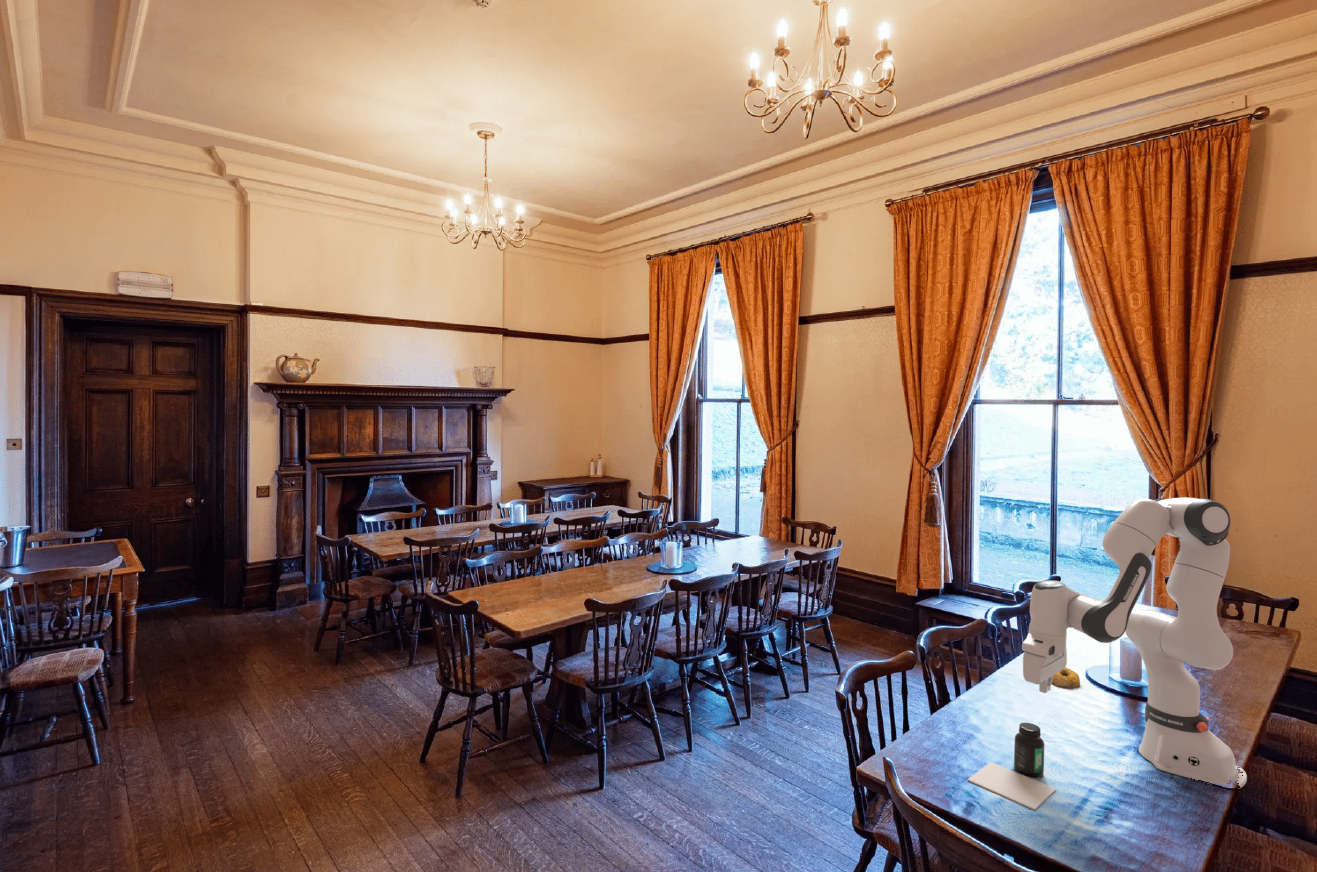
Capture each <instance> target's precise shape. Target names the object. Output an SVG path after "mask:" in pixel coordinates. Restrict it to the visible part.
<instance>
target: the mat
mask: <svg viewBox="0 0 1317 872" xmlns="http://www.w3.org/2000/svg"><path fill="white" fill-rule="evenodd" d="M967 781H968V782H969V783H973V785H974V784H975V785H976V786H978V787H981V788H983V789H986V790H988V791H990V792H992V793H994V794H997V795H999V796H1002V797H1003V798H1005V799H1009V800H1011V801H1013V802H1014V803H1017V804H1020V805H1021V806H1025V808H1028V809H1031V810H1034V811H1036V810H1037V809H1038V808H1039V807H1040V806H1041V805H1043V803H1044V802H1046V801H1047V800H1048V799H1049V798H1050V797H1051V796H1052V795H1053V794H1054V793H1055V792H1056V791H1057V788H1055V787H1052V786H1050V785H1049V784H1048V785H1047V784H1045V783H1042V782H1041V781H1039V780H1036V779H1033V778H1032V777H1027V776H1024V775H1022V774H1020V773H1018V772H1017V771H1016V772H1015V771H1013V770H1011V769H1008V768H1006V767H1003V766H1002V765H999V764H997V763H995V762H991V761H990V762H988V763H987V764H986V765H985V766H983V767H982V768H980V769H979V770H978V771H976V772H975V773H974V774H973V775H971V776H970V777H969V778H967Z"/></svg>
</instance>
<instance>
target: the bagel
mask: <svg viewBox="0 0 1317 872" xmlns="http://www.w3.org/2000/svg"><path fill="white" fill-rule="evenodd" d="M1051 684H1053V685H1055V686H1056V687H1060V688H1061V687H1063V688H1070V687H1071V688H1076V687H1080V686H1081V679H1080V676H1079V674H1078V673H1077V672H1076V671H1074V670H1072V669H1070V668H1068V667H1067V666H1066V667H1065V669H1063V670H1061V671H1060V672H1058V673H1056V674H1055V675H1053V680H1052V683H1051Z"/></svg>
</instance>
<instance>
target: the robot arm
mask: <svg viewBox="0 0 1317 872" xmlns="http://www.w3.org/2000/svg"><path fill="white" fill-rule="evenodd" d="M1230 527H1231V517H1230V513H1229V511H1228V509H1227V507H1226V506H1225V505H1223V504H1222V503H1220V502H1218V501H1216V500H1212V499H1209V498H1208V499H1207V498H1196V497H1186V496H1183V497H1174V498H1173V497H1172V498H1171V497H1170V498H1168V497H1161V498H1158V499H1151V498H1138V499H1135V500H1134V501H1133V502H1132V503H1130V504H1129V505H1128V506H1126V508H1125V509H1124V510H1123V511H1122V512H1121V513H1120V514H1118V516H1117V518H1115V520H1114V521H1113V522H1112V524H1111V525H1110V527H1108V529H1107V531H1106V532H1105V534H1104V536H1103V538H1102V546H1103V550H1104V552H1105V554H1106V556H1107V557H1109V559H1111V561H1113V563H1114V564H1116V565H1117V567H1118V569H1119V573H1118V576H1117V578H1116V580H1115V582H1114V584H1113V586H1112V588H1111V589H1110V592H1109V594H1108V596H1107V597H1106V598H1104V599H1102V600H1099V599H1097V598H1094V597H1091V596H1089V595H1086V594H1084V593H1080V592H1078V591H1076V590H1073V589H1071V588H1070V587H1069V586H1067V585H1066V584H1065V583H1064V582H1062V581H1059V580H1048V579H1047V580H1041V581H1040V580H1039V581H1038V582H1036V583H1035V584H1034V585H1033V587H1032V590H1031V594H1030V601H1029V614H1030V615H1029V616H1030V623H1029V625H1028V633H1027V636H1026V637H1025V639H1024V641H1023V642H1022V643H1021V650H1022V651H1023V656H1022V676H1023V678H1024V679H1023V680H1025V681H1026V682H1028V683H1032V684H1035V685H1039V686H1038V687H1039V688H1038V689H1039V692H1040V693H1043V694H1046V693H1048V692H1049V691H1051V689H1052V687H1051V686H1052V684H1053V683H1052V680H1053V675H1055V674H1056V673H1058V672H1060V671H1061V670H1063V669H1065V667H1066V668H1067V663H1068V660H1067V659H1068V657H1067V656H1068V655H1067V654H1068V653H1067V633H1068V632H1067V629H1068V628H1072V629H1074V630H1076V631H1078V632H1080V633H1083V634H1085V635H1086V636H1088V637H1090V638H1091V639H1093V640H1096V641H1097V642H1098V643H1102V644H1109V643H1112V642H1116V641H1117V640H1119V639H1120V638H1121V637H1123V635H1124V634H1125V635H1126V636H1127V638H1128V639H1129V640H1130V641H1131V642H1132V643H1133V645H1134V646H1135V647H1136V649H1137V651H1138V653H1139V655H1140V656H1141V659H1142V661H1143V664H1144V666H1145V670H1146V673H1147V701H1145V705H1144V718H1145V719H1144V720H1145V727H1144V732H1143V738H1142V739H1141V742H1140V745H1139V748H1138V752H1139V754H1140V755H1141V757H1143V758H1144V759H1146V760H1148V761H1149V762H1151V763H1152V764H1153V765H1154V766H1155V768H1157V769H1158V770H1160V771H1162V772H1163V771H1164V772H1165V773H1169V774H1172V775H1173V774H1174V775H1176V776H1180V777H1184V778H1188V779H1191V778H1192V779H1191V780H1194V779H1195V781H1198V780H1202V781H1205V782H1209V783H1218V784H1222V785H1227V783H1230V782H1229V781H1230V780H1238V781H1237V783H1239V784H1238V785H1239V786H1240V788H1239V789H1241V788H1243V787H1244V786H1245V785H1246V784H1247V782H1248V781H1247V780H1248V775H1247V773H1246V771H1245V770H1244V769H1243V768H1242V767H1240V768H1238V769H1240V772H1243V773H1239V774H1238V773H1237V772H1238V771H1237V770H1236V769H1237V767H1239V766H1238V765H1237V764H1236V759H1235V755H1234V753H1233V750H1232V749H1231V748H1230V747H1229V746H1228V745H1227V744H1226V743H1225V742H1224V741H1222V740H1221V739H1220V738H1219V737H1217V736H1216V735H1215V734H1214V733H1213V732H1211V731H1210V730H1209V725H1210V724H1209V723H1210V717H1209V716H1206V717H1205V715H1203V714H1202V713H1201V712H1200V702H1201V701H1200V698H1201V697H1200V696H1201V687H1200V683H1199V682H1198V679H1196V678H1195V677H1194V676H1193V675H1192V674H1191V673H1190V672H1189V671H1188V669H1187V668H1186V666H1185V664H1187V665H1190V666H1193V667H1195V668H1202V669H1207V670H1213V671H1217V670H1221V669H1223V668H1226V667H1227V666H1228V665H1229V664H1230V662H1231V661H1232V660H1233V656H1234V647H1233V644H1232V642H1231V640H1230V639H1229V637H1228V635H1226V634H1225V632H1224V631H1223V629H1222V627H1221V625H1220V621H1219V617H1218V610H1217V609H1218V603H1219V599H1220V594H1221V591H1222V588H1223V586H1224V581H1225V579H1226V576H1227V572H1228V569H1229V565H1230V563H1229V562H1230V558H1231V557H1230V556H1231V546H1230V545H1231V544H1230V543H1229V542H1228V540H1227V539H1226V538H1227V537H1228V536H1229V531H1230ZM1165 536H1171V537H1174V538H1178V541H1179V546H1180V547H1179V551H1178V552H1177V555H1176V558H1175V561H1174V563H1173V566H1172V568H1171V572H1170V574H1169V578H1168V579H1167V583H1166V586H1165V587H1166V593H1167V594H1168V596H1169V597H1170V598H1171V600H1172V601H1173V602H1175V603H1176V606H1177V616H1173V615H1171V614H1168V613H1164V612H1161V611H1157V610H1150V609H1141V608H1140V609H1134V607H1135V605H1136V603H1137V601H1138V599H1139V597H1140V596H1141V593H1142V592H1143V589H1144V587H1145V586H1146V583H1147V582H1148V579H1149V578H1150V574H1151V572H1152V568H1153V567H1152V561H1151V557H1152V553H1153V551H1155V550H1154V549H1155V548H1156V547H1157V545H1158V544H1159V543H1160V541H1161V539H1162V538H1163V537H1165ZM1133 609H1134V610H1133ZM1184 663H1185V664H1184ZM1237 775H1238V776H1237ZM1242 775H1243V776H1242ZM1236 777H1239V778H1236ZM1234 778H1235V779H1234ZM1205 782H1204V783H1205ZM1209 783H1208V784H1209ZM1228 785H1229V784H1228Z"/></svg>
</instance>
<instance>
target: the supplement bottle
mask: <svg viewBox="0 0 1317 872" xmlns="http://www.w3.org/2000/svg"><path fill="white" fill-rule="evenodd" d="M1018 727H1019V728H1018V733H1016V734H1015V736H1014V745H1013V746H1014V751H1013V753H1014V754H1013V755H1014V757H1013V767H1014V769H1015V771H1016V773H1019V774H1021V775H1024V776H1026V777H1028V778H1031V779H1033V778H1034V779H1037V778H1041V777H1043V775H1044V773H1045V772H1044V771H1045V741H1044V739H1043V738H1042V737H1041V736H1042V735H1041V728H1040V726H1038V725H1037V724H1034V723H1030V722H1020V723H1019V725H1018Z"/></svg>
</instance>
